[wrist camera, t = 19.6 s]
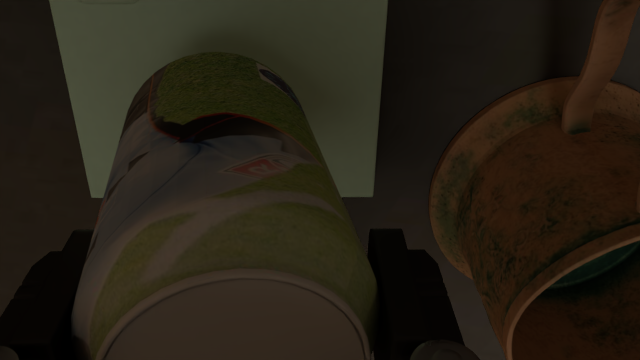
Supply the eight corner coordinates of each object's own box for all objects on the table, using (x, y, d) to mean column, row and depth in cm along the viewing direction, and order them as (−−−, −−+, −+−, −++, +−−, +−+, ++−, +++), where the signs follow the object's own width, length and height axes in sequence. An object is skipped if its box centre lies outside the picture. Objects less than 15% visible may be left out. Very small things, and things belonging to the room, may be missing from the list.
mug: (708, -109, 21) (1106, -62, 11) (663, 264, 30) (859, 489, 19) (394, -38, 22) (480, 68, 11) (441, 304, 31) (514, 539, 20)
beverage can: (100, 85, 19) (-122, 366, 9) (298, -7, 18) (300, 199, 8) (195, 224, 22) (109, 553, 12) (371, 153, 21) (441, 455, 11)
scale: (10, -214, 19) (-45, -224, 16) (395, -204, 19) (413, -213, 16) (91, 175, 26) (64, 219, 23) (368, 175, 27) (377, 218, 24)
